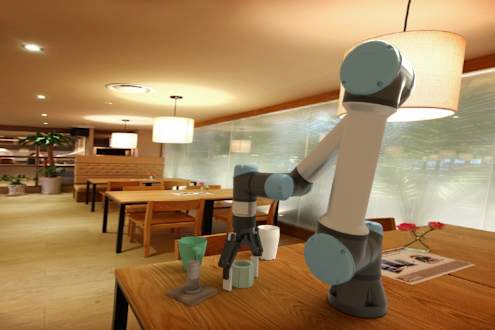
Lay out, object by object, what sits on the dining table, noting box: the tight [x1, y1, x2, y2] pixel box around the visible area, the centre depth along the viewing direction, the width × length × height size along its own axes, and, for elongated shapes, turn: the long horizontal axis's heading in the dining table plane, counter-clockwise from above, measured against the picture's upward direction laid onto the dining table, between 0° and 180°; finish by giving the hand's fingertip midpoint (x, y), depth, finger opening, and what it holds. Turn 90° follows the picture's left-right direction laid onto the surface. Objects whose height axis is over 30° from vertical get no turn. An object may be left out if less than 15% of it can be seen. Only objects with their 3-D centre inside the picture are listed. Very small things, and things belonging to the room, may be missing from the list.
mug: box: [177, 236, 208, 271], centre depth 98 cm, size 15×10×10 cm
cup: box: [257, 224, 280, 261], centre depth 116 cm, size 9×9×12 cm
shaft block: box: [166, 260, 219, 307], centre depth 82 cm, size 10×10×9 cm
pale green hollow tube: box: [231, 259, 255, 289], centre depth 91 cm, size 7×7×6 cm
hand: (241, 282), depth 91 cm, fingers open, 13 cm apart
